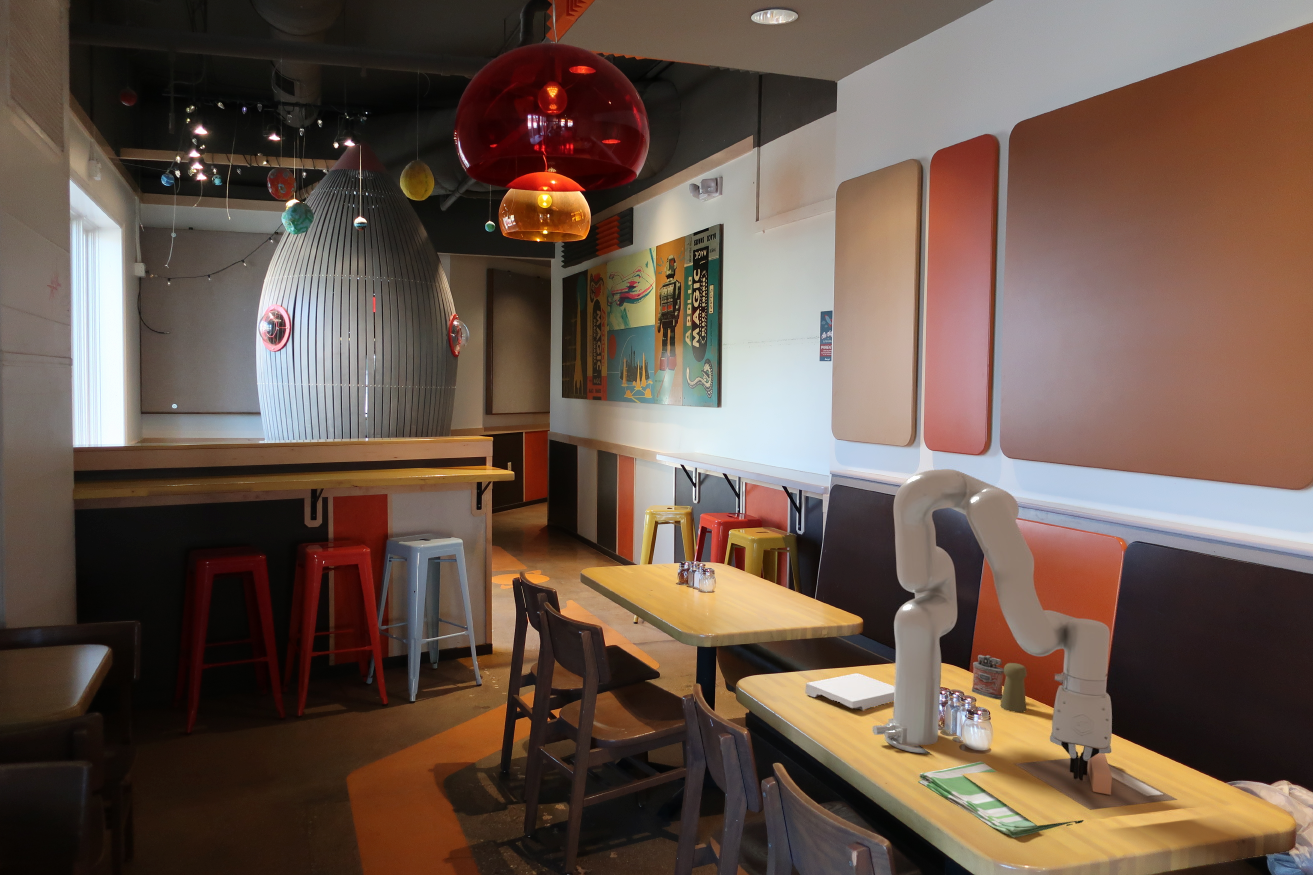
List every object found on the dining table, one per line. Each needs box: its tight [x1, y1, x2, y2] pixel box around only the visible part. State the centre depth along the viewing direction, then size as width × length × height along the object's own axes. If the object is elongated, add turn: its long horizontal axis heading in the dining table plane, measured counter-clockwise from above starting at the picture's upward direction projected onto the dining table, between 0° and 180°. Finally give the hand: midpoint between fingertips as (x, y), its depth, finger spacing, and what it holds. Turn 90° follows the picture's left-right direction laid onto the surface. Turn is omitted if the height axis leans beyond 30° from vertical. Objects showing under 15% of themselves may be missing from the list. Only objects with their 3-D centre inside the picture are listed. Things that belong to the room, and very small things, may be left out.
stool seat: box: [1014, 757, 1178, 811], centre depth 164 cm, size 20×20×2 cm
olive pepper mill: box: [999, 662, 1028, 713], centre depth 209 cm, size 6×6×11 cm
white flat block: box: [805, 672, 895, 711], centre depth 213 cm, size 15×3×20 cm
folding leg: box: [1087, 753, 1112, 795], centre depth 166 cm, size 18×4×4 cm, turn 157°
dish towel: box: [918, 761, 1085, 838], centre depth 157 cm, size 18×23×3 cm
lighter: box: [971, 654, 1005, 700], centre depth 219 cm, size 8×3×10 cm, turn 40°
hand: (1077, 776), depth 164 cm, fingers closed
